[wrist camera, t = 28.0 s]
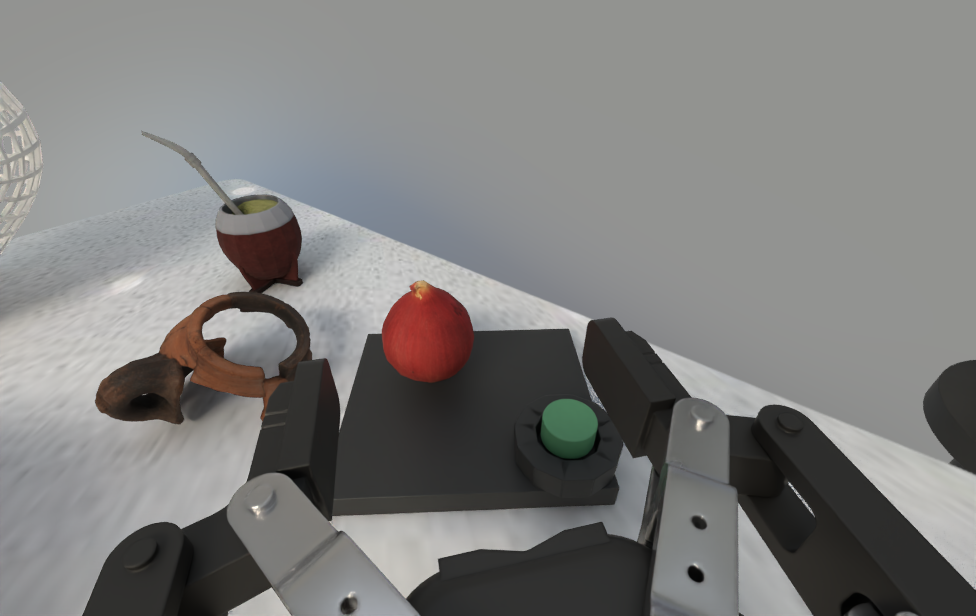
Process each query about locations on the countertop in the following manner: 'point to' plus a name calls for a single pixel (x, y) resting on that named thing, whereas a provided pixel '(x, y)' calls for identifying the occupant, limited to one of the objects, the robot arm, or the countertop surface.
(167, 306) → the countertop surface
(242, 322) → the countertop surface
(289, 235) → the mate gourd
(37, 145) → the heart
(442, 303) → the onion
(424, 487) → the scale
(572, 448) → the button
